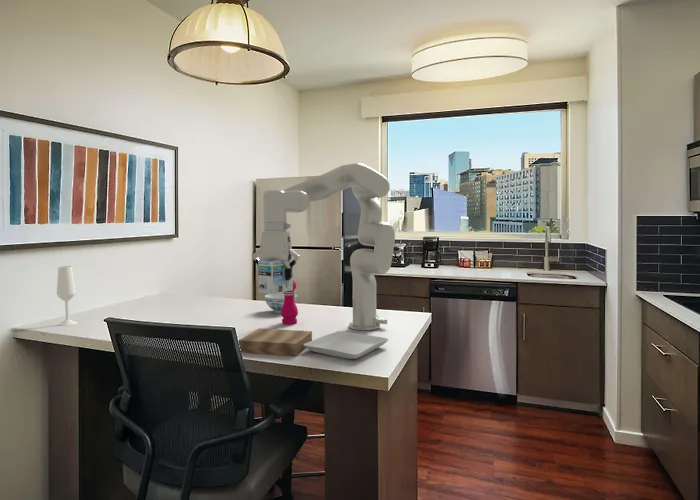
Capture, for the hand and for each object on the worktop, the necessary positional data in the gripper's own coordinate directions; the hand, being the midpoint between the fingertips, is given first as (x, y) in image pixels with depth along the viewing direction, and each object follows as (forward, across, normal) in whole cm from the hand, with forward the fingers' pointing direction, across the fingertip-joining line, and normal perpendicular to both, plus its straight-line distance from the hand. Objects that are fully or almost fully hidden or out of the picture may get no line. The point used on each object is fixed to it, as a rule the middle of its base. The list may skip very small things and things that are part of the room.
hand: (276, 279), depth 147 cm
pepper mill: (+23, +8, -34) cm, 42 cm away
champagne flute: (+23, +98, -13) cm, 102 cm away
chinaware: (+23, +20, -55) cm, 63 cm away
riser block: (+23, 0, 0) cm, 23 cm away
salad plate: (+24, -24, -2) cm, 34 cm away
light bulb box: (+4, 0, 0) cm, 4 cm away
